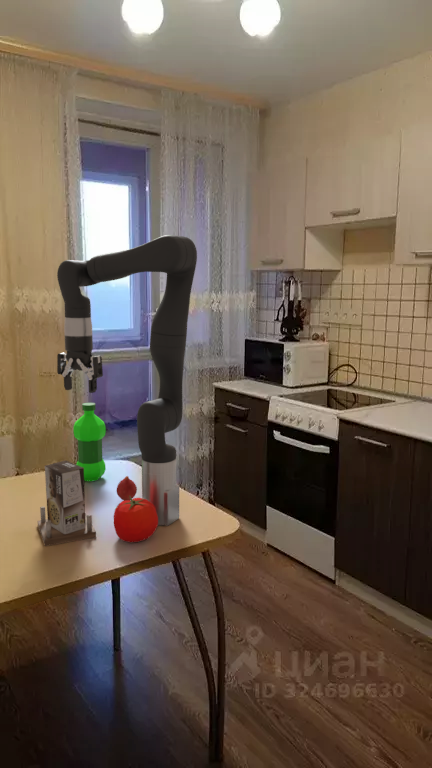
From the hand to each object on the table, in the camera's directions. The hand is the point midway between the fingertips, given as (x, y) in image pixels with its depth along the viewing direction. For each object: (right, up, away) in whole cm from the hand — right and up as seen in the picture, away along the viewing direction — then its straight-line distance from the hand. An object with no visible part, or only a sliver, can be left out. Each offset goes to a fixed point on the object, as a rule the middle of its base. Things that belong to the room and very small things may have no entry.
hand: (80, 391), depth 162 cm
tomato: (+18, -37, -17) cm, 45 cm away
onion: (+12, -33, +6) cm, 36 cm away
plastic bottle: (-3, -29, +26) cm, 39 cm away
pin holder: (0, -36, -14) cm, 39 cm away
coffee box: (0, -35, -14) cm, 38 cm away
